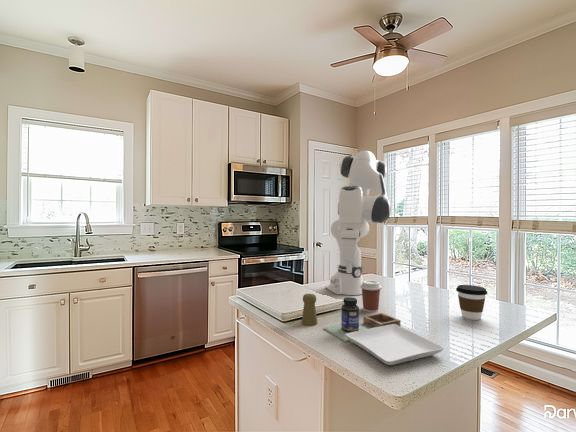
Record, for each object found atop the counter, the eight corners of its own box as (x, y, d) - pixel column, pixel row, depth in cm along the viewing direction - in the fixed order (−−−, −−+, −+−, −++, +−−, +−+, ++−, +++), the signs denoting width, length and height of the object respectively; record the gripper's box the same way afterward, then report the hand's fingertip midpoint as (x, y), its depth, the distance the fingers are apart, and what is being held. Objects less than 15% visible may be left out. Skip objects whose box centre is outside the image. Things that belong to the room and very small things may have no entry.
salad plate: (388, 373, 82) (388, 360, 82) (343, 342, 101) (343, 332, 101) (446, 358, 90) (446, 347, 90) (394, 332, 110) (394, 323, 110)
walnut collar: (363, 322, 118) (363, 316, 118) (382, 319, 123) (382, 312, 123) (381, 331, 110) (381, 324, 110) (400, 326, 114) (400, 320, 114)
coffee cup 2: (452, 317, 124) (452, 287, 124) (459, 311, 132) (460, 283, 132) (484, 324, 117) (484, 292, 117) (490, 317, 125) (490, 287, 125)
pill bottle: (350, 334, 106) (350, 302, 105) (337, 329, 110) (337, 298, 110) (362, 330, 109) (362, 299, 109) (349, 325, 114) (349, 295, 114)
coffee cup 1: (373, 314, 128) (373, 285, 128) (355, 309, 135) (355, 281, 135) (385, 309, 134) (385, 282, 134) (367, 305, 141) (367, 278, 141)
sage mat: (323, 328, 113) (323, 327, 113) (352, 323, 118) (352, 321, 118) (345, 342, 101) (345, 340, 101) (376, 335, 107) (376, 333, 107)
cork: (308, 319, 123) (308, 291, 123) (320, 323, 119) (320, 294, 118) (298, 323, 119) (298, 294, 118) (310, 327, 114) (310, 297, 114)
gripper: (343, 229, 121) (343, 264, 122) (339, 233, 101) (338, 275, 102) (360, 229, 120) (359, 265, 120) (358, 233, 100) (358, 276, 100)
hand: (349, 270), depth 111 cm, fingers open, 8 cm apart
